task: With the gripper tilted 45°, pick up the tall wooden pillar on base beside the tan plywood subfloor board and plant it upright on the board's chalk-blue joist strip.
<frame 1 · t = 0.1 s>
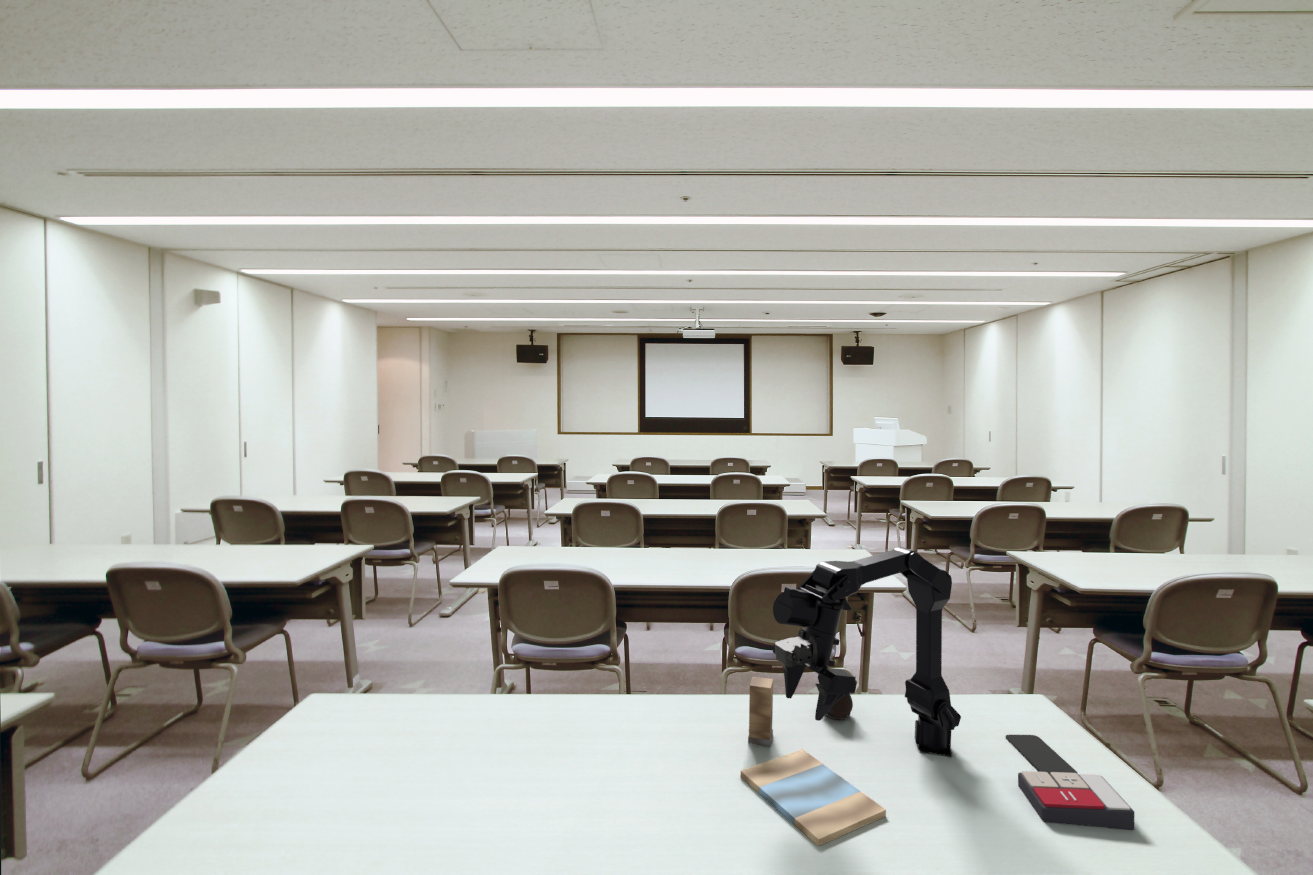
hand: (802, 708, 122), 15 cm above the table, tool pointing down, fingers open, 9 cm apart
phone: (1039, 757, 134), on the table
calculator: (1072, 809, 118), on the table
wooden pillar on base: (760, 739, 140), on the table
subfloor board: (809, 795, 121), on the table
mate gourd: (837, 715, 151), on the table
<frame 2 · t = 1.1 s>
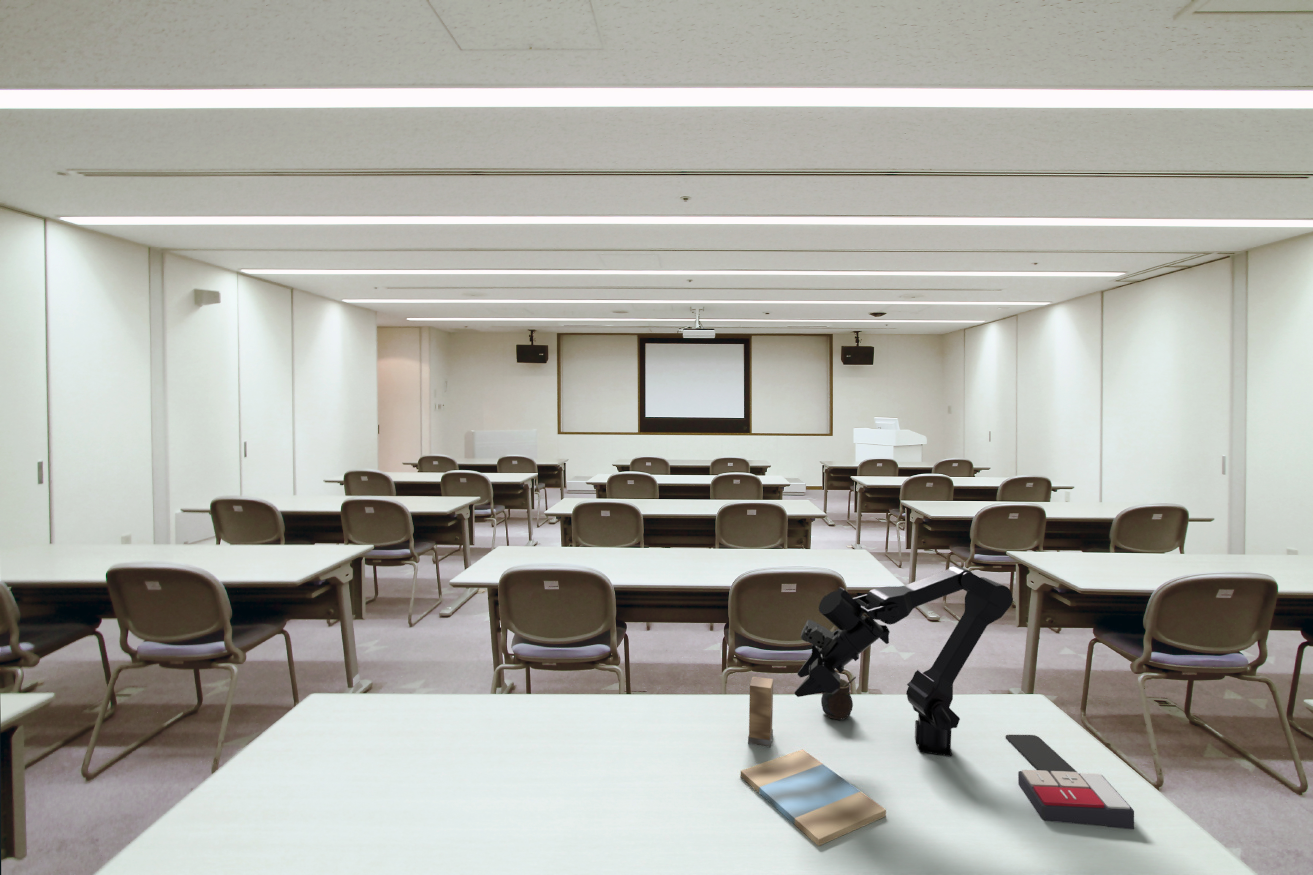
hand: (797, 684, 137), 13 cm above the table, tool tilted 45°, fingers open, 9 cm apart
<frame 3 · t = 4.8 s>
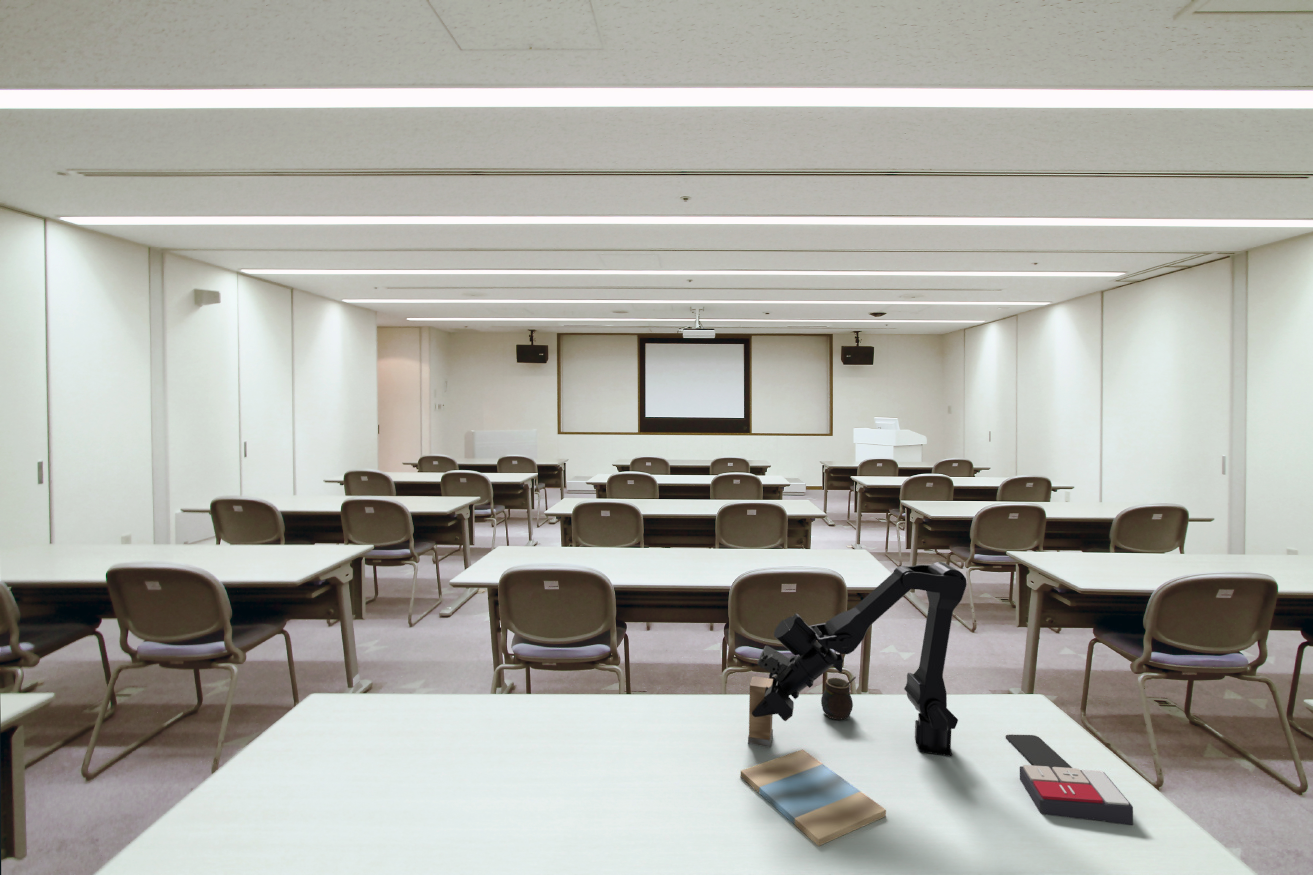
hand: (754, 709, 140), 7 cm above the table, tool tilted 45°, fingers closed on wooden pillar on base, 4 cm apart
calculator: (1072, 803, 120), on the table
wooden pillar on base: (760, 739, 140), on the table, touching gripper
everything else where it was.
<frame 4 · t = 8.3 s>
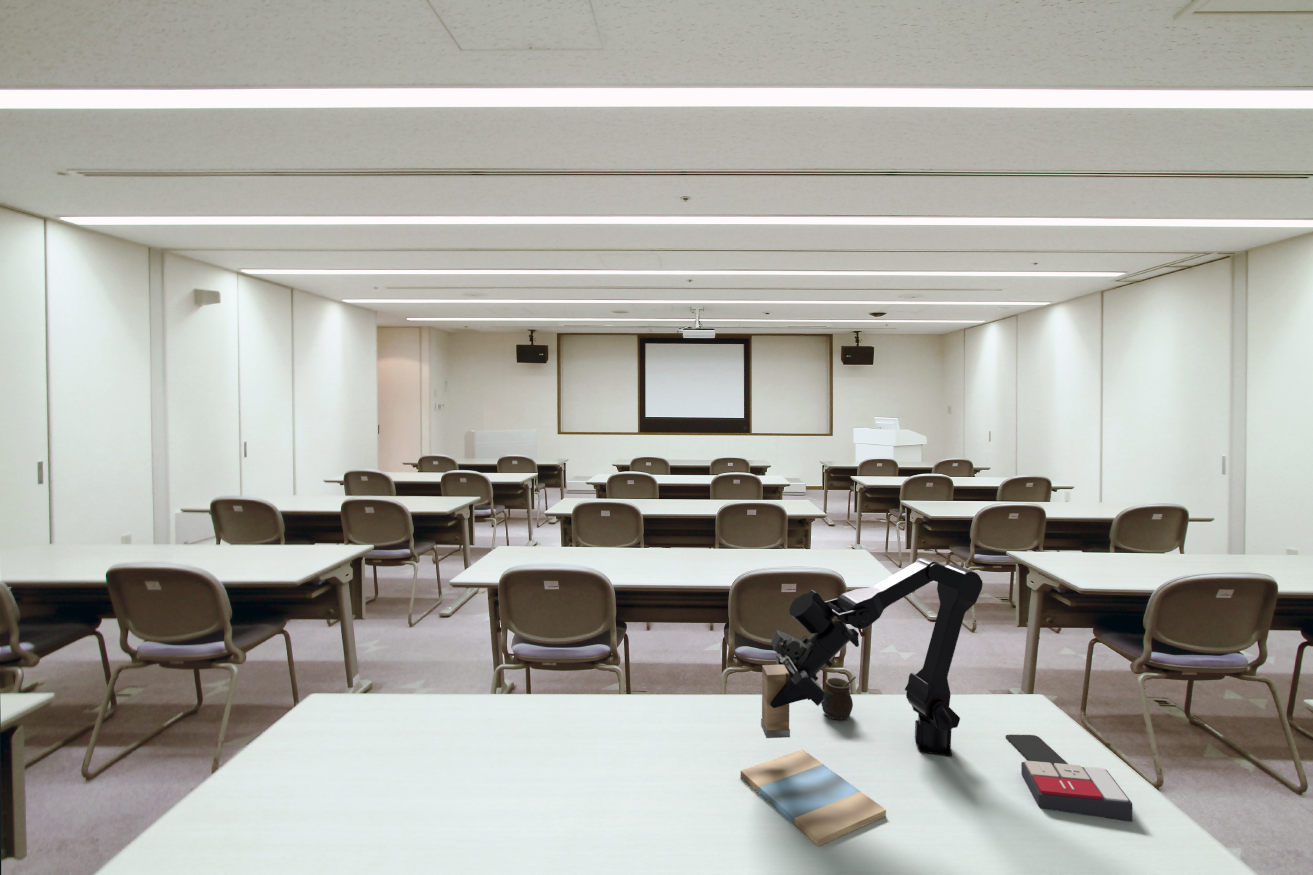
hand: (768, 700, 130), 13 cm above the table, tool tilted 45°, fingers closed on wooden pillar on base, 4 cm apart
calculator: (1073, 799, 121), on the table
wooden pillar on base: (775, 731, 130), point 7 cm above the table, touching gripper
everything else where it was.
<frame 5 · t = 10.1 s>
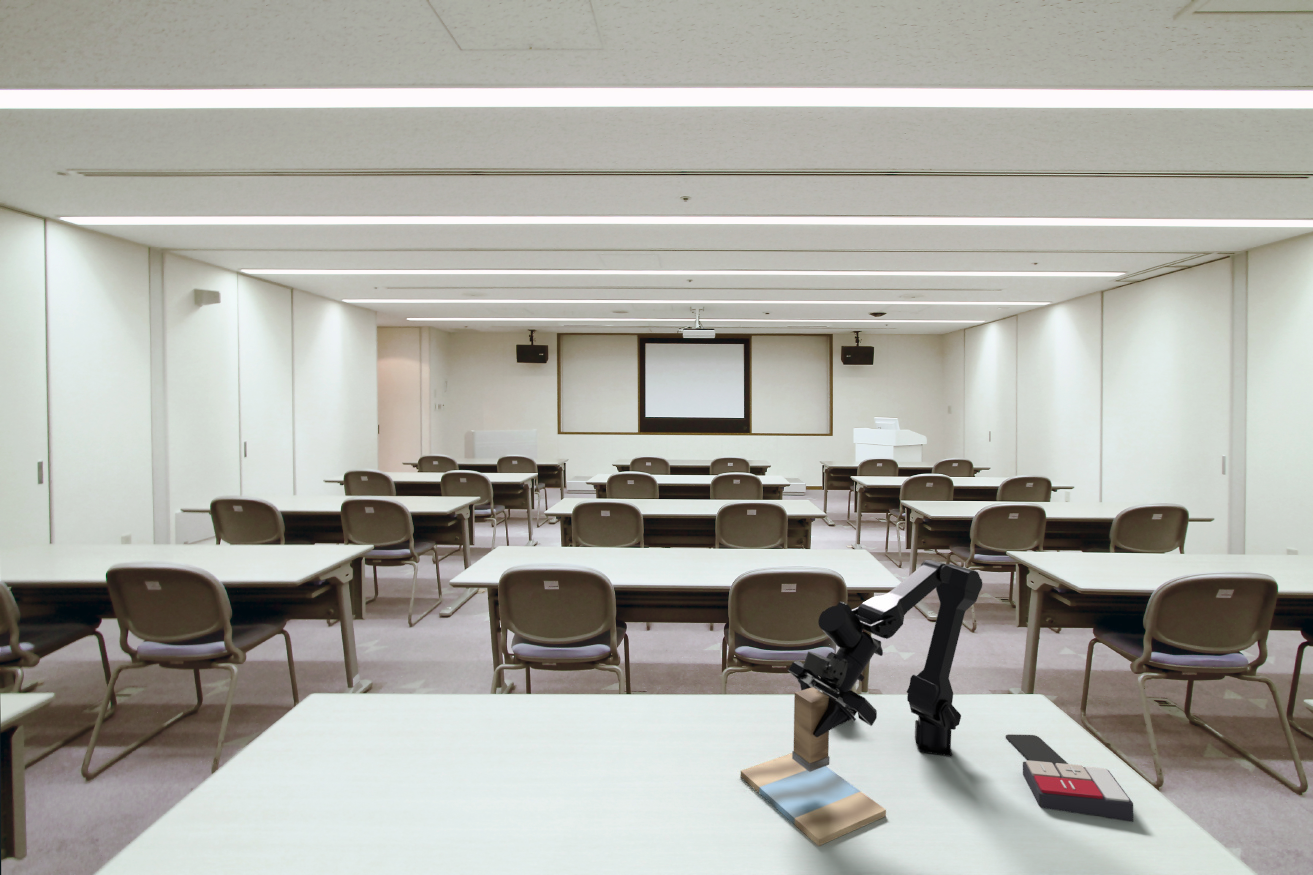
hand: (805, 729, 119), 13 cm above the table, tool tilted 45°, fingers closed on wooden pillar on base, 4 cm apart
wooden pillar on base: (810, 761, 120), point 7 cm above the table, touching gripper
everything else where it was.
when the fingers open (9 cm above the table, at t = 11.7 s): wooden pillar on base drops 1 cm, resting on subfloor board.
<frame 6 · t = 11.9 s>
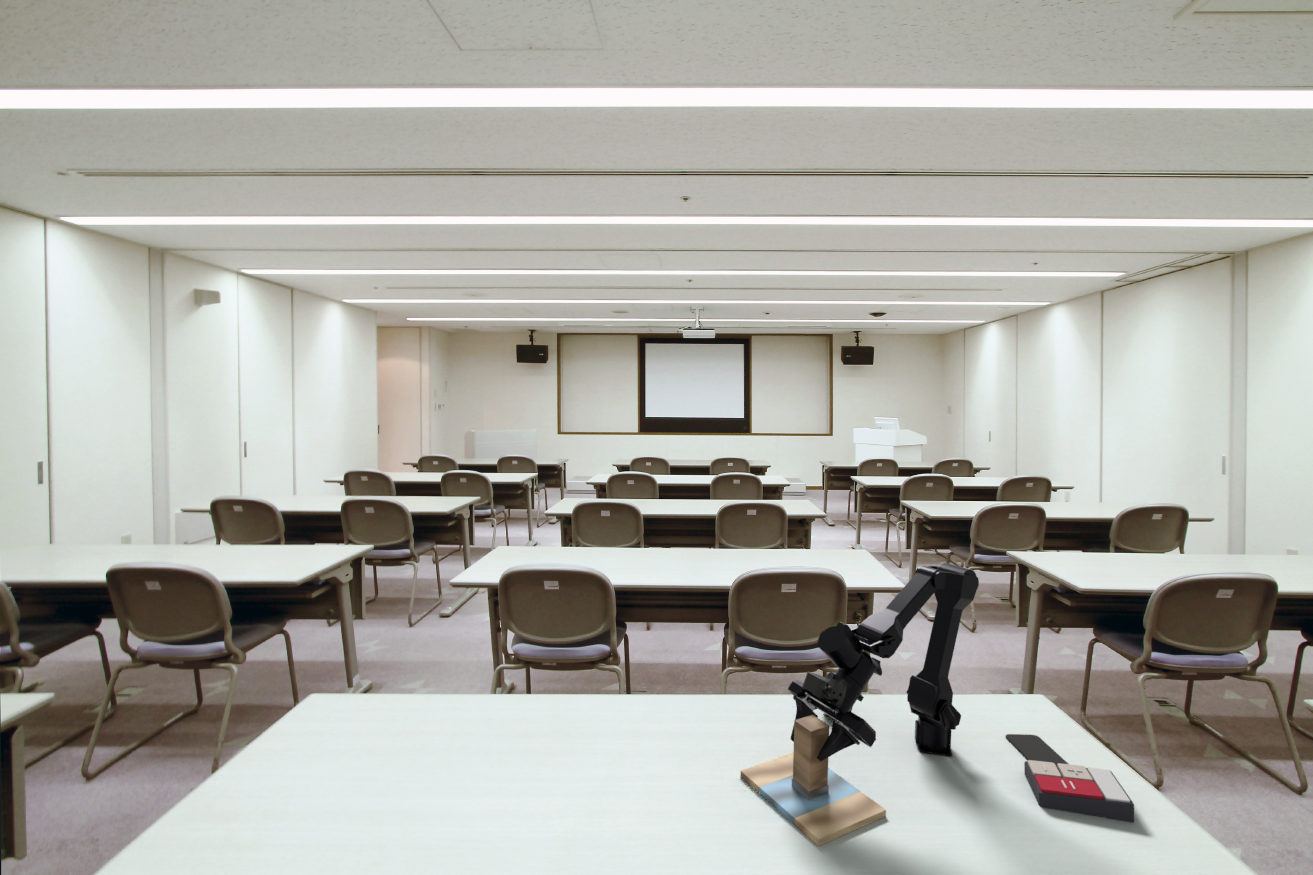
hand: (805, 749, 119), 9 cm above the table, tool tilted 45°, fingers open, 7 cm apart
wooden pillar on base: (809, 788, 121), point 1 cm above the table, touching subfloor board
everything else where it was.
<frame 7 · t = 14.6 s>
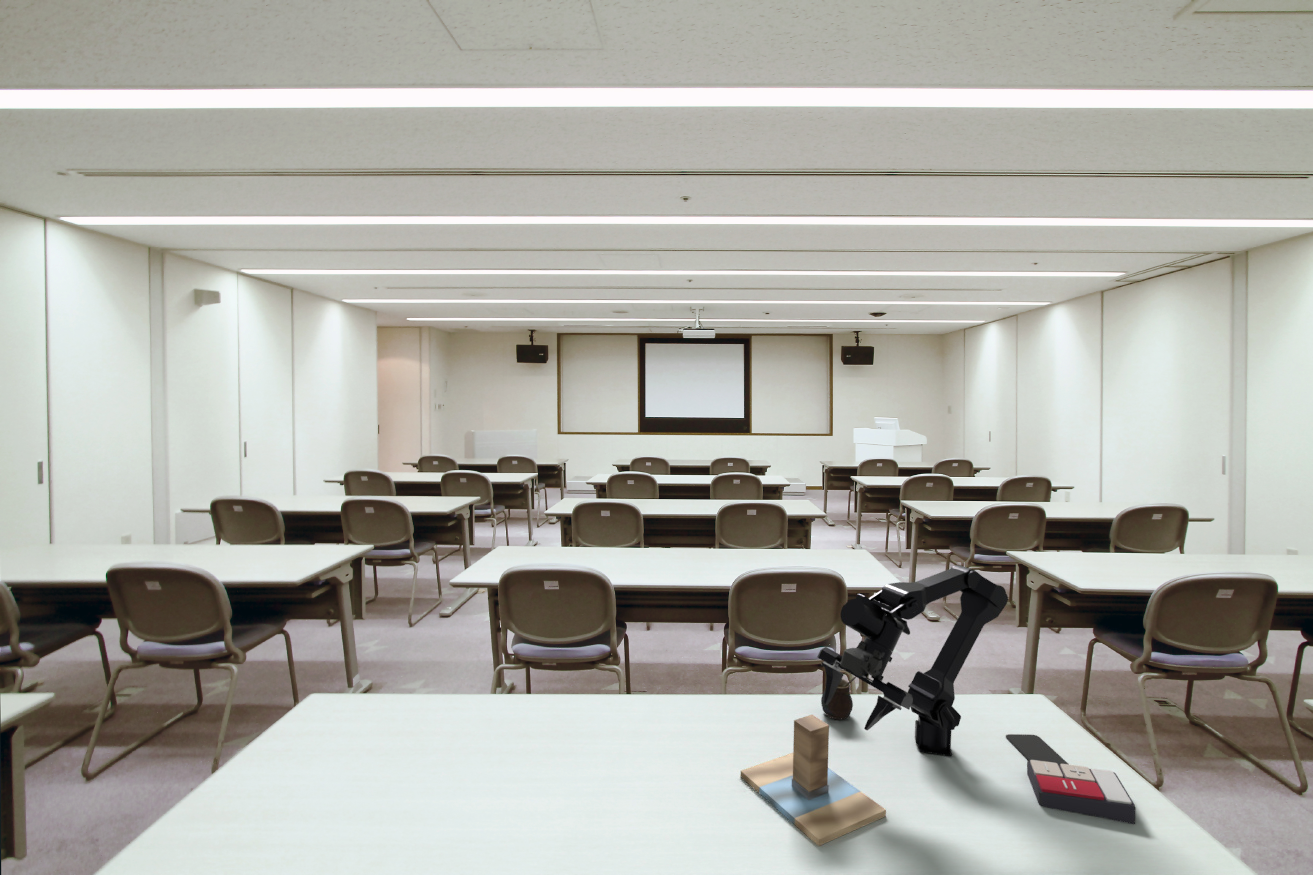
hand: (845, 716, 126), 12 cm above the table, tool tilted 30°, fingers open, 9 cm apart
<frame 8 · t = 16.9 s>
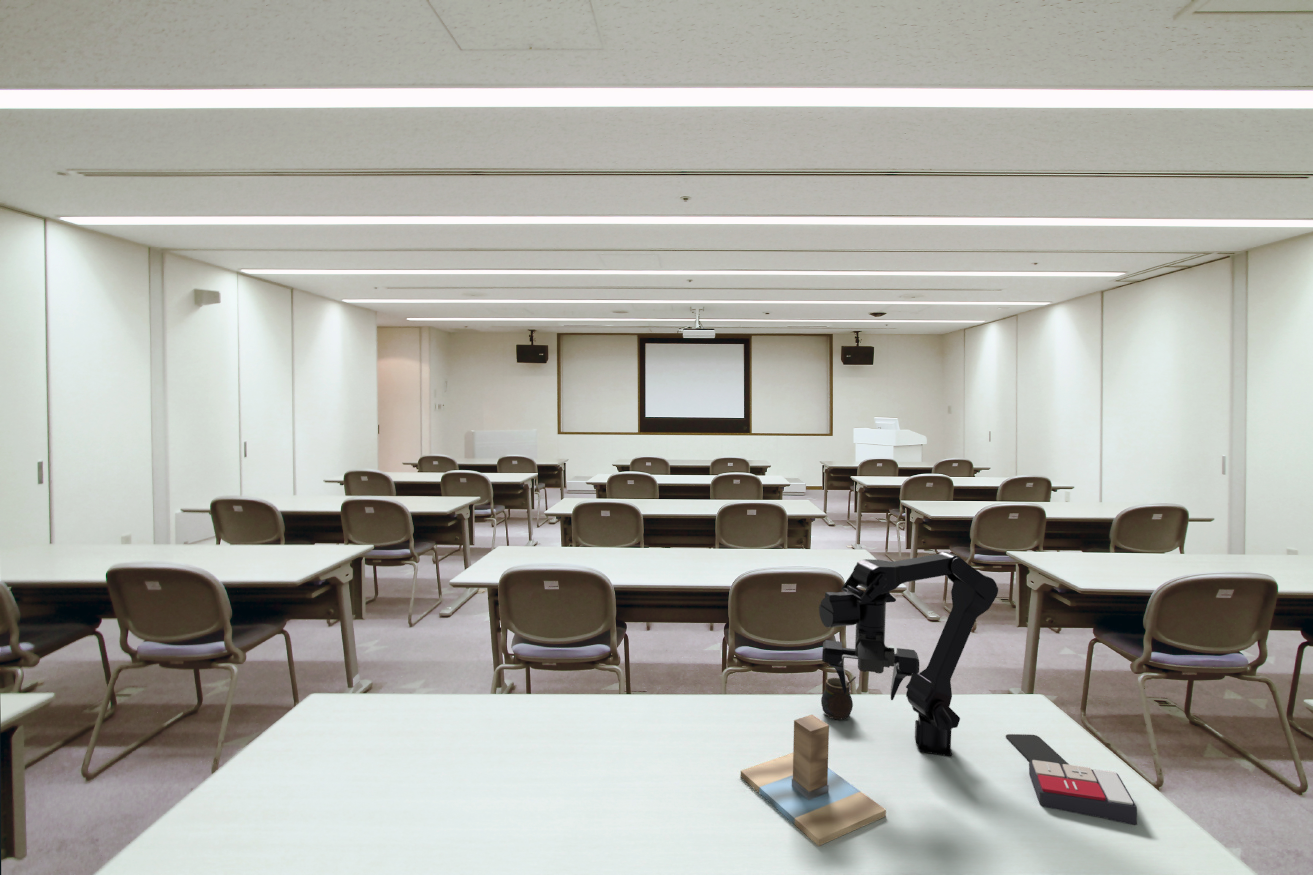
hand: (868, 696, 133), 13 cm above the table, tool pointing down, fingers open, 9 cm apart
nothing on the table moved.
at the end: wooden pillar on base 0.0 cm off-centre on the subfloor board, point 1.2 cm above the subfloor board's base; wooden pillar on base tilted 0°; wooden pillar on base touching subfloor board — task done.
